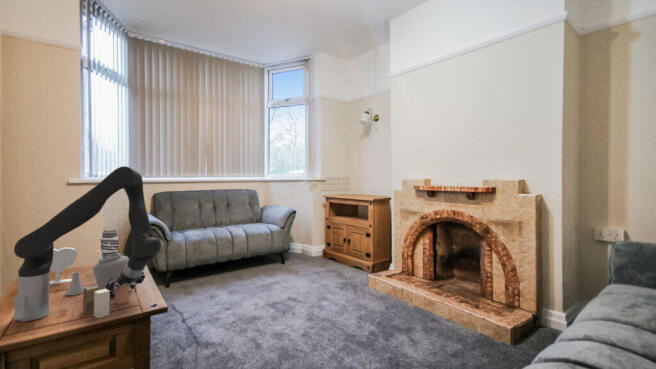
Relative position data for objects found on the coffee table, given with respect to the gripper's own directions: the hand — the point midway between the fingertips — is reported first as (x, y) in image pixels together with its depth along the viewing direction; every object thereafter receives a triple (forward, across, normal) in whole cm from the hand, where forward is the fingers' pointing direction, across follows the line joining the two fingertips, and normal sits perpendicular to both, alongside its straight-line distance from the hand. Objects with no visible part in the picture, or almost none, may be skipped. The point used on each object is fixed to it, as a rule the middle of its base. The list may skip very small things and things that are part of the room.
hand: (120, 290), depth 140 cm
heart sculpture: (+42, +9, -35) cm, 56 cm away
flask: (+23, +9, -16) cm, 30 cm away
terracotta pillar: (+3, 0, +4) cm, 5 cm away
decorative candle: (+46, -17, -38) cm, 62 cm away
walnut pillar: (+2, +12, +5) cm, 13 cm away
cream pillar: (-4, +11, +11) cm, 16 cm away
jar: (+14, -2, -7) cm, 16 cm away
